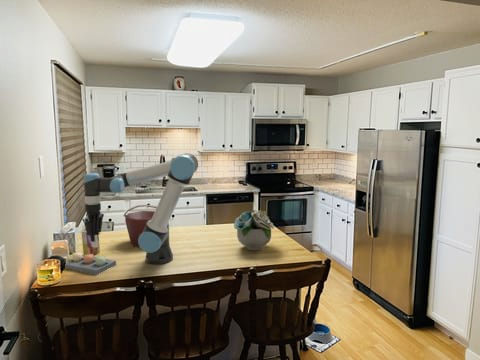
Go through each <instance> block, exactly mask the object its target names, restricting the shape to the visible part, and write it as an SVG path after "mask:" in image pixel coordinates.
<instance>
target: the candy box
mask: <svg viewBox="0 0 480 360" xmlns="http://www.w3.org/2000/svg"><path fill="white" fill-rule="evenodd" d="M99 235H100V234H99ZM99 235H98V247H96V248H95V247H92V242H91V236H90V235H87V232H86V229H85V230H82V231H81V240H82V241H81V243H82V250H83V251H82V255H87V254H93V255H94V256H95V255H98V254H100V253H101V250H100V249H101V248H100V238H99Z"/></svg>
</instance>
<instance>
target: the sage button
mask: <svg viewBox="0 0 480 360" xmlns="http://www.w3.org/2000/svg"><path fill="white" fill-rule="evenodd" d="M95 257H96V258H95V263H96V266H97V267H102V266H104V265H106V260H105V259H106V256H104V255H100V256H95Z"/></svg>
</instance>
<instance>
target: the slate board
mask: <svg viewBox="0 0 480 360" xmlns="http://www.w3.org/2000/svg"><path fill="white" fill-rule="evenodd" d="M82 256H83V261H80V262H73V258H72V259H69V260H67V261H68V262H67V263H66V264H65V267H66V268H67V269H66V270H70V269H72V270H71V271H74V270H76V271H75V272H79V271H81V273H84V272H86V273H85V274H89V273H91V274H90V275H94V274H96V275H95V276H98V275H100V274H102V273H104V272H105V270H106V271H108V270H109V268H110V269H112V268H113V267H115V266H117V261H116V260H113V259H108V258H105V260H106V265H104V266H102V267H97V266H96V263H95V258H96V257H97V256H94V263H92V264H89V265H87V264H84V255H83V254H82ZM111 267H112V268H111ZM107 269H108V270H107ZM103 271H104V272H103ZM101 272H102V273H101ZM99 273H100V274H99Z"/></svg>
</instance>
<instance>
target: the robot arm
mask: <svg viewBox="0 0 480 360" xmlns="http://www.w3.org/2000/svg"><path fill="white" fill-rule="evenodd" d="M198 169H199V160H198V159H197V157H196V156H195V155H194V154H193V153H189V152H188V153H187V152H186V153H183V154H179V155H177V156H175V157H173V158H171V159H170V160H169V161H165V162H162V163H158V164H157V163H156V164H154V165H150V166H146V167H142V168H138V169H135V170H131V171H127V172H124V173H118V174H117V175H115V176H112V177H101V175H100V174H99V173H94V172H91V173H90V172H89V173H85V174H84V175H83V188H84V203H85V204H84V211H85V212H86V214H85V217H84V218H82V222H83V223H84V227H85V230H86V232H87V235H90V236H91V242H92V247H95V248H96V247H98V235H100V234H101V233H102V227H103V219H104V216H105V214H104V213H101V210H102V205H101V201H102V200H101V193H113V194H117V193H118V194H120V193H123V191H124V189H125V188H127V187H130V186H134V185H137V184H138V185H139V184H141V183H145V182H149V181H150V182H151V181H153V180H157V179H161V178H165V177H167V178H168V181H167V183H166V184H165V185H166V186H165V188H164V190H163V193H162V195H161V196H160V200H159V201H158V204H157V205H156V206H157V208H155V210H154V211H155V213H154V215H153V217H152V220H149V221H148V222H147V224H146V226H145V228H144V230H143V233H142V234H141V235H140V236H139V239H138V244H139V246H140V247H139V248H140V250H142V251H143V252H145V253H146V254H145V262H146V263H147V264H152V265H164V264H168V263H169V262H171V261H173V259H174V254H173V252H172V249H171V246H170V223H169V222H170V220H171V217H172V216H173V214H174V211H175V209H176V206H177V204H178V202H179V199H180V197H181V195H182V193H183V191H184V189H185V187H186V186H188V185H190V182H191V180H192V178H193V176H194V174H195V173H196V172H197V170H198Z"/></svg>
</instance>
